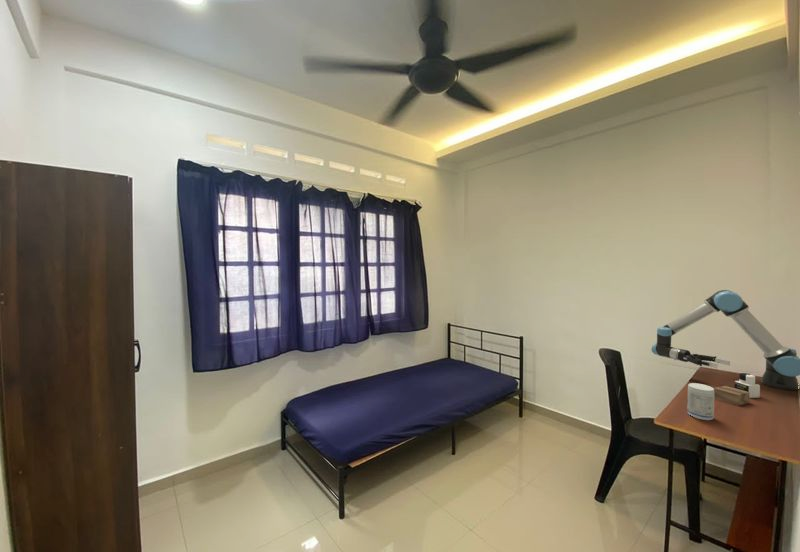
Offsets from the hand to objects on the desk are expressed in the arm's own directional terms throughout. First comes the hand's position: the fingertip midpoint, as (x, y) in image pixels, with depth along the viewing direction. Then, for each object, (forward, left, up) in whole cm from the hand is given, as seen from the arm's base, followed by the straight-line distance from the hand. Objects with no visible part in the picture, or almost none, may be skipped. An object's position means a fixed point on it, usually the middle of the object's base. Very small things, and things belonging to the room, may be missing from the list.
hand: (723, 364), depth 190 cm
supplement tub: (+42, +36, -15) cm, 57 cm away
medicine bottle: (-5, +9, -15) cm, 18 cm away
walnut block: (+10, +17, -15) cm, 24 cm away
